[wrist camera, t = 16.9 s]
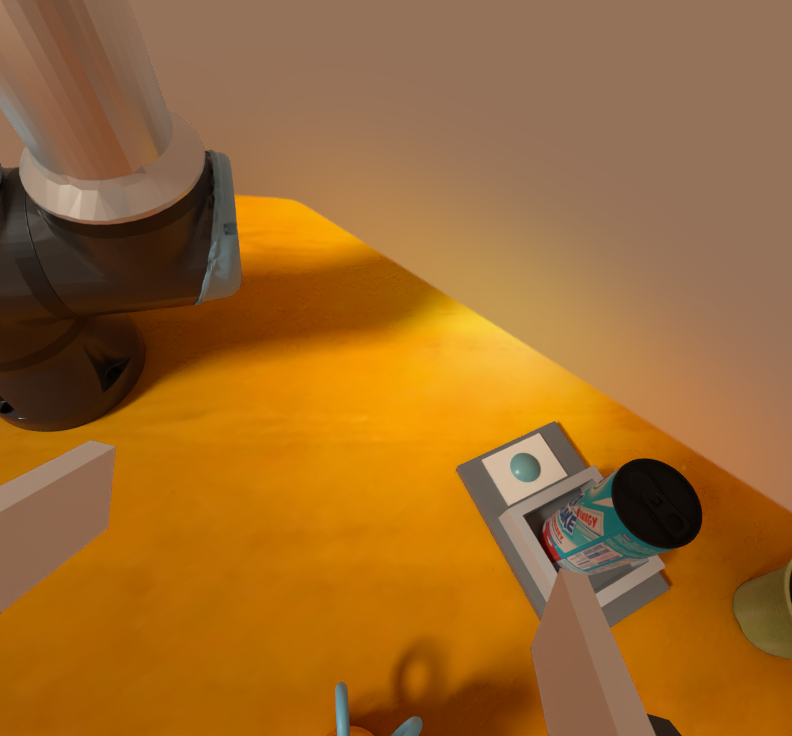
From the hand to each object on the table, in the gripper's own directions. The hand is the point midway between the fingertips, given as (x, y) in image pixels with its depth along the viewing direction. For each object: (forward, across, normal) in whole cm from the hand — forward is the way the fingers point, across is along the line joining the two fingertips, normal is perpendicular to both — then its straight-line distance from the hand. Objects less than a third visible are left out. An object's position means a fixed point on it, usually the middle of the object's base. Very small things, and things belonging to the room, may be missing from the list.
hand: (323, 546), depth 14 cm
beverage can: (+29, +19, -14) cm, 38 cm away
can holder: (+31, +18, -14) cm, 38 cm away
